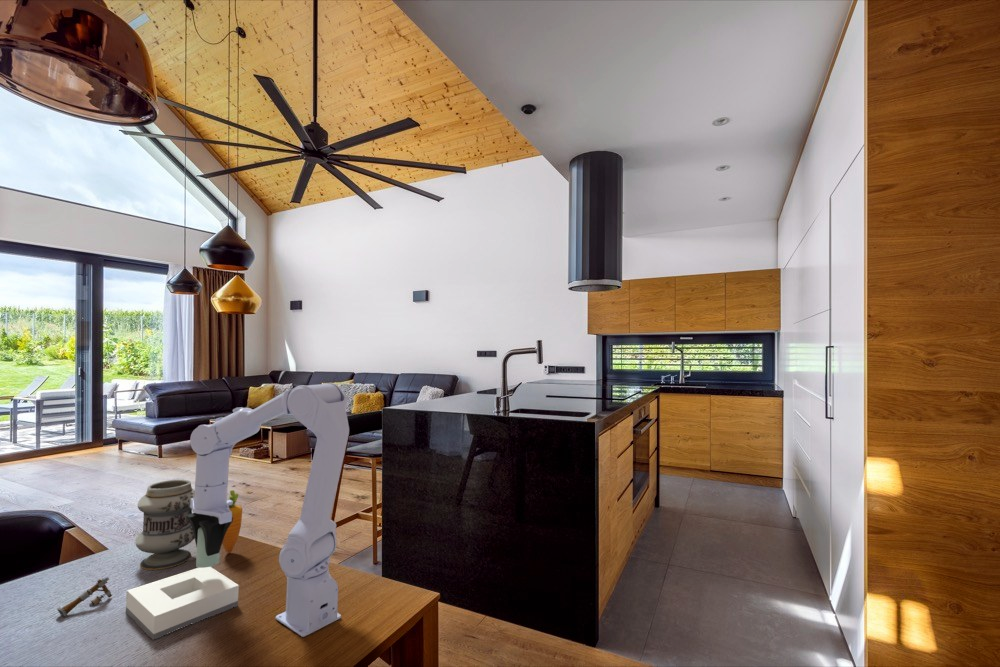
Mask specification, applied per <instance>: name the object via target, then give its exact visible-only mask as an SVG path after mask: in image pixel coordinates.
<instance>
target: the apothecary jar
mask: <svg viewBox="0 0 1000 667" xmlns="http://www.w3.org/2000/svg"><path fill="white" fill-rule="evenodd" d="M146 489H147V490H146V493H145V494H144V495H143V496H142V497H141V498H140V499H139V501H138V502H137V509H138V510H139V511H140V512H141V513H143V521H142V522H143V526H142V531H141V532H140V533H139V534H138V535H137V536H136V539H135V546H136V548H137V549H138V550H140V551H141V552H144V553H147V554H149V556H147V557H145V558H143V559H142V560H141V562H140V564H139V566H140V568H141V569H144V570H146V571H157V569H159V570H165V569H170V568H172V567H173V566H174V567H176V565H177V566H179V565H182V564H184V563H186V562H187V561H188V560H190V559H191V557H192V553H191V552H190V550H187V549H182V548H184V547H186V546H187V545H189V544H191V543H192V542H193V541H195V537H194V533H193V529H192V526H191V524H190V522H189V520H188V519H187V515H188V514H192V513H193V511H192V508H190V502H191V499H192V498H194V496H195V488H194V489H193V487H192V482H191V480H189V479H169V480H163V481H159V482H158V481H157V482H154V483H152V484H149V485H148V487H147V488H146ZM189 558H190V559H189ZM185 561H186V562H185ZM169 567H170V568H169ZM174 567H173V568H174Z"/></svg>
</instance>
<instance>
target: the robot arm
mask: <svg viewBox="0 0 1000 667" xmlns="http://www.w3.org/2000/svg"><path fill="white" fill-rule="evenodd" d="M347 402H348V397H347V396H346V394H345V393H344V391H343V390H342V388H340V386H339V385H337V383H333V382H326V383H321V384H320V383H319V384H309V385H306V384H305V385H304V384H302V385H297V386H295V387H294V388H291V389H287V390H284V391H283V392H282V393H281V394H278V395H277V396H275V397H273V398H271V399H270V400H268V401H267V402H264V403H262V404H261V405H259V406H257V407H255V408H254V409H252V408H250V407H243V406H241V407H235V408H233V409H232V412H233V413H231V414H228V415H225V416H224V417H223V416H221V417H217V418H216V419H215V420H214V422H212V424H200V425H198V426H197V427H196V428H195V429H193V431H192V432H191V434H190V438H189V439H190V440H189V443H190V447H191V449H192V451H193V452H194V453H195V454H196V462H195V463H196V464H195V481H194V490H195V496H194V498H192V499H191V502H190V508H192V514H188V515H187V519H188V520H189V522H190V524H191V526H192V529H193V533H194V537H195V539H194V541H195V546H196V548H197V539H198V529H199V528H200V527H201V528H202V530H203V534H204V538H205V550H206V554H207V556H211V555H214V554H217V553H219V551H220V552H221V548H222V546H223V544H222V542H223V539H224V536H225V534H226V531H227V529H228V528H229V526H230V524H231V523H232V522H233V517H232V512H231V511H230V510H229V505H232V504H233V501H231V500H228V489H229V488H228V486H229V467H230V458H231V456H232V453H233V448H234V447H235V445H236V444H237V443H239V442H242V441H243V440H245V439H247V438H250V437H252V436H254V435H255V434H257V433H258V432H259V431H260V430H261V426H262V424H265V423H267V422H269V421H272V420H273V419H274V420H275V419H276V418H278V417H281V416H283V415H292V417H294V419H296V420H297V421H298V422H299V423H300V424H301V425H303V426H304V427H306V429H308V430H309V431H310V432H312V433H313V434H314V436H315V437H316V443H315V447H314V452H313V457H312V460H311V461H312V462H311V465H310V471H309V475H308V480H307V485H306V489H305V493H304V497H303V502H302V507H301V511H300V517H299V519H298V520H297V522H296V523H295V524H294V526H293V527H292V528H291V530H290V531H289V533H288V536H287V541H286V543H285V544H284V545H283V547H282V548H281V550H280V552H279V554H278V555H279V556H278V562H279V566H280V568H281V570H282V572H283V573H284V574H285V576H284V577H286V597H285V601H286V602H285V611H282V613H279V614H277V615H276V616H275V620H277V621H278V622H279V623H280V624H283V625H284V626H286V627H287V628H288V629H290V630H291V631H293V632H295V633H296V634H297V635H299V636H301V637H303V638H304V637H306V636H309V635H310V634H313V633H315V632H316V631H318V630H320V629H322V628H324V627H326V626H328V625H329V624H332V623H334V622H335V621H337V620H340V619H341V617H342V615H341V614H340V613H339V612H338V608H339V607H338V604H339V585H338V582H337V581H336V579H334V578H333V576H332V575H331V574H330V570H329V564H330V563H331V556H332V555H333V554H334V553H335V551H336V550H337V545H338V540H337V536H336V531H337V530H336V529H337V523H336V522H335V521H334V520H332V519H331V517H332V514H333V513H332V512H333V508H334V504H335V500H336V494H337V491H338V485H339V481H340V476H341V471H342V467H343V463H344V458H345V453H346V450H347V449H346V448H347V444H348V440H349V435H350V425H349V420H348V414H347V410H346V408H347Z"/></svg>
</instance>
